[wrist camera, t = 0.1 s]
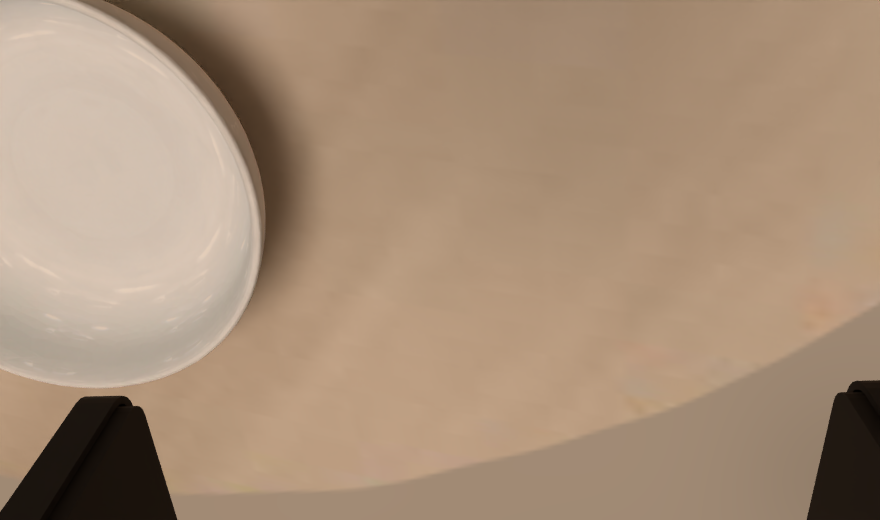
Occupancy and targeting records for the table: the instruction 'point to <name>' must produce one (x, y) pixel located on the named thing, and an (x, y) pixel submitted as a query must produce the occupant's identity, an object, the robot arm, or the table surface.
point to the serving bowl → (117, 200)
